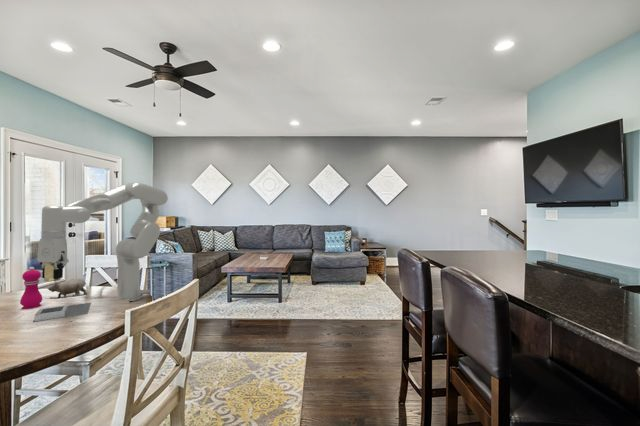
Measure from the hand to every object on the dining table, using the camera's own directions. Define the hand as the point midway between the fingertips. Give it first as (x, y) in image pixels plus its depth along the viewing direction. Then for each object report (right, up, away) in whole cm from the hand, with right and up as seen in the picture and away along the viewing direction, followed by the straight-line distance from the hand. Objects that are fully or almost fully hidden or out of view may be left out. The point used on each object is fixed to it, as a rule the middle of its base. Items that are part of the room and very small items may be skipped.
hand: (52, 277), depth 119 cm
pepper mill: (-20, -18, +11) cm, 29 cm away
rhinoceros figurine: (-21, -18, +30) cm, 40 cm away
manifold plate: (0, -18, +5) cm, 19 cm away
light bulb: (0, -1, 0) cm, 1 cm away
